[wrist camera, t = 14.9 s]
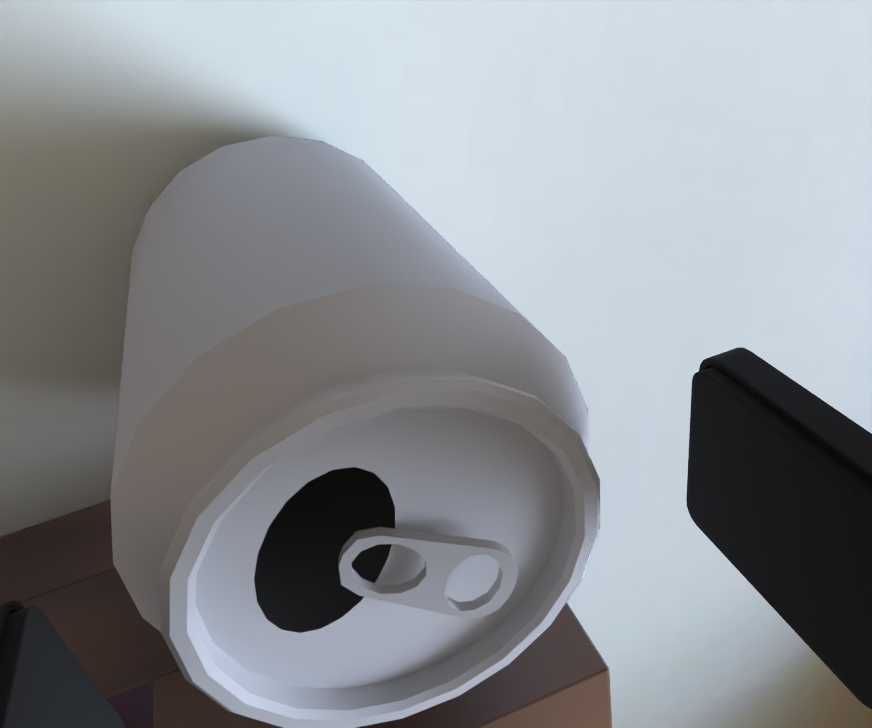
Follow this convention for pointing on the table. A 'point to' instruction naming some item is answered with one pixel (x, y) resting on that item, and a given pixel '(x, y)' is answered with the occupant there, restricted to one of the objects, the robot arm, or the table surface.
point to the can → (336, 446)
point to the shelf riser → (212, 724)
